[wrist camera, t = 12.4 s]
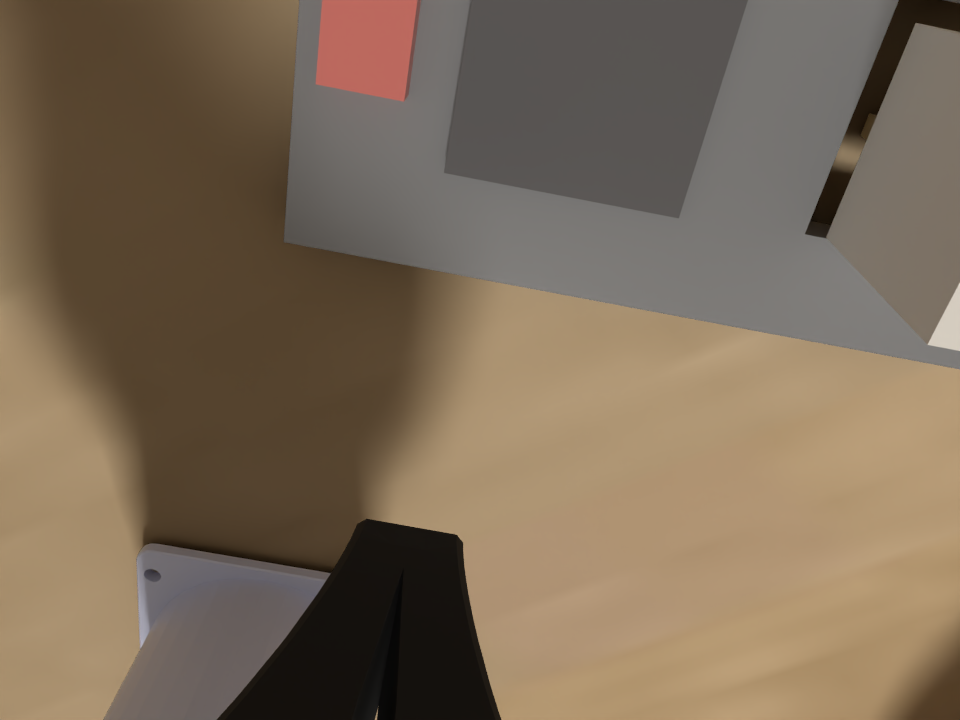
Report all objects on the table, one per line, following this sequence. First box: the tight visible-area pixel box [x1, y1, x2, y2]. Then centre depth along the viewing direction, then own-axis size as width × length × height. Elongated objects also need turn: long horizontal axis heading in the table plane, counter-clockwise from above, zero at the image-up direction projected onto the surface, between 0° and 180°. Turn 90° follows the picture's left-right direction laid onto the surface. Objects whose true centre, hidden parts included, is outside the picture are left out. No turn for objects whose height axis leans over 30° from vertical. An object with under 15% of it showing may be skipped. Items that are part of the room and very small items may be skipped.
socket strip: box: [284, 0, 960, 369], centre depth 17 cm, size 10×20×2 cm, turn 80°
